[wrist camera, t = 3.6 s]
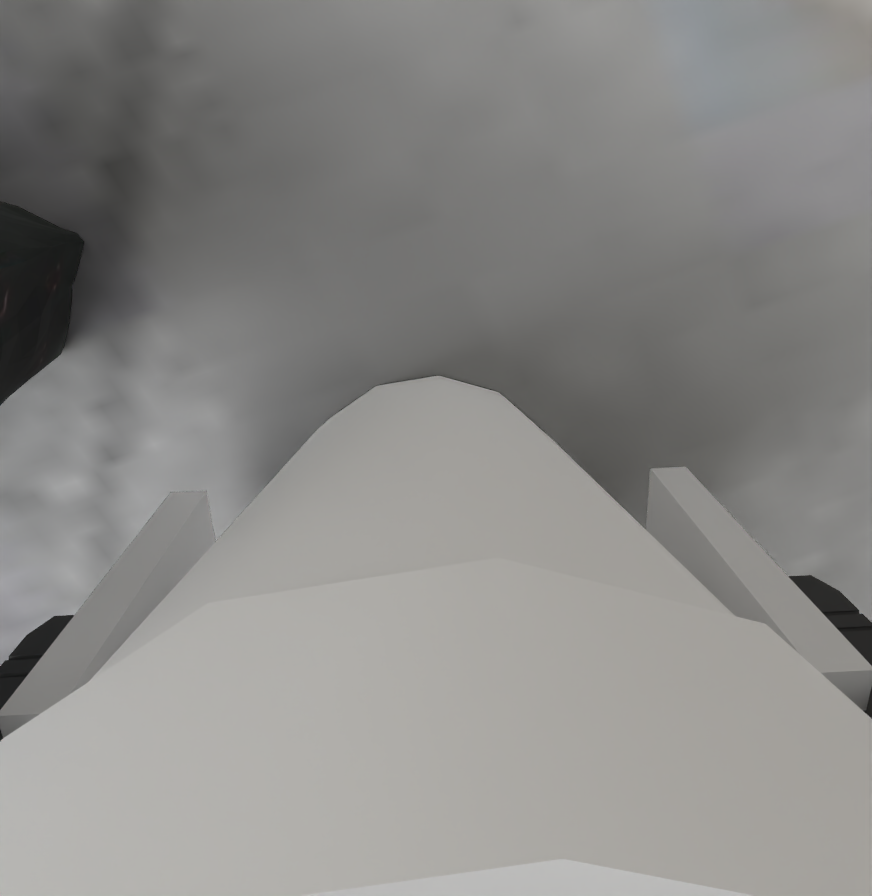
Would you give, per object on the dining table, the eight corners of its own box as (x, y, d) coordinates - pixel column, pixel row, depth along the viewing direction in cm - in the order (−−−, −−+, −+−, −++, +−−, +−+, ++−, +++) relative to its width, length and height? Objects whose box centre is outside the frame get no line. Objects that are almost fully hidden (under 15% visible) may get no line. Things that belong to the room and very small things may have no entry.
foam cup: (592, 672, 18) (928, 1610, 6) (242, 660, 18) (-115, 1645, 6) (655, 316, 15) (1633, 881, 3) (224, 291, 15) (-692, 831, 3)
